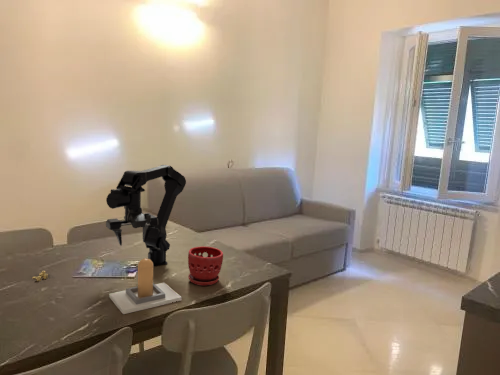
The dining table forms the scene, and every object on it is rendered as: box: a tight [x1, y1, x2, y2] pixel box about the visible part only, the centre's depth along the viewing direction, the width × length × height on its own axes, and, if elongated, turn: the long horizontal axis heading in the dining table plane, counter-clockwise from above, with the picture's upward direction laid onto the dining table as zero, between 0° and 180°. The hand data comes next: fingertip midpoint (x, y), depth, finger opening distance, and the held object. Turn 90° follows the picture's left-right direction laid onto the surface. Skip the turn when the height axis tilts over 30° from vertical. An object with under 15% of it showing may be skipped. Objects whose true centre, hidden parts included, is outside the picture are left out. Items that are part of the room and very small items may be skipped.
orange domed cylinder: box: [137, 257, 154, 298], centre depth 138 cm, size 5×5×13 cm
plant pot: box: [187, 246, 224, 286], centre depth 155 cm, size 13×13×12 cm
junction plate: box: [108, 282, 182, 315], centre depth 139 cm, size 20×14×3 cm
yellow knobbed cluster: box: [31, 270, 49, 282], centre depth 151 cm, size 5×5×2 cm
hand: (132, 243), depth 158 cm, fingers open, 9 cm apart
